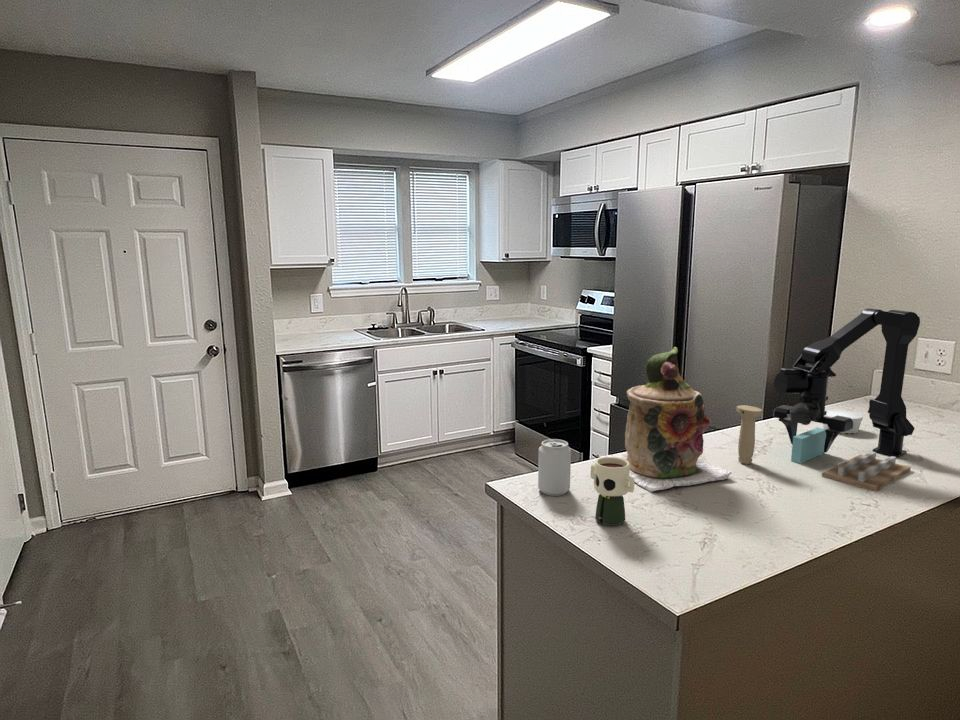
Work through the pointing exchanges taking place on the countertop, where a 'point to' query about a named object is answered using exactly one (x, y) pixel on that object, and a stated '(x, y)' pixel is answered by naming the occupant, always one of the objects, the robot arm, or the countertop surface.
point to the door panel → (808, 445)
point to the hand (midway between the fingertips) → (808, 448)
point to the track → (867, 471)
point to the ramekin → (854, 416)
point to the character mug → (611, 488)
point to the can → (554, 467)
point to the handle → (747, 432)
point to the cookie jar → (667, 430)
